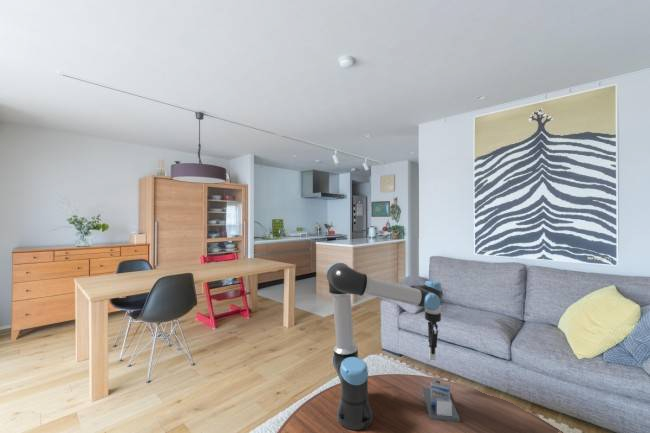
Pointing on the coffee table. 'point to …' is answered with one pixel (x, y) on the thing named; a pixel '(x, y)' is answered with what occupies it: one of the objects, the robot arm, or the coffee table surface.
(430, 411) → the base
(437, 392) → the medicine box
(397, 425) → the coffee table surface
